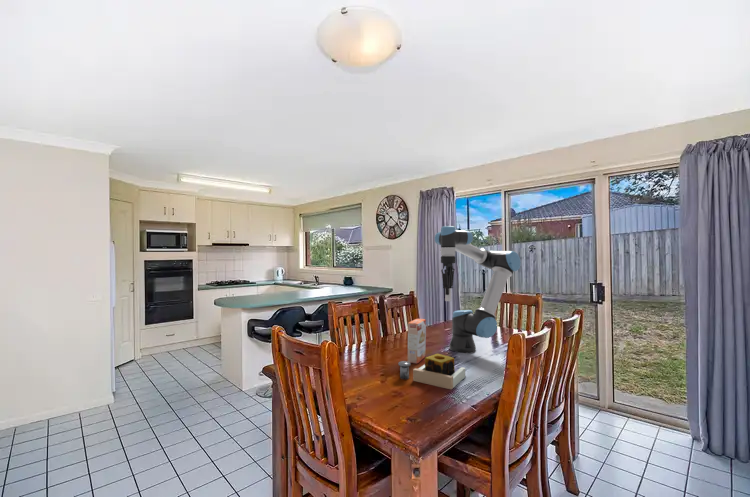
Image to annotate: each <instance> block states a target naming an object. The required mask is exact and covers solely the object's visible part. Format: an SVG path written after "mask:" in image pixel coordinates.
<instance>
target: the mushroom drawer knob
mask: <svg viewBox="0 0 750 497" xmlns="http://www.w3.org/2000/svg"><path fill="white" fill-rule="evenodd" d="M411 364H412V363H410V362H408V360H407V361H406V360H401V361H398V366H399V371H400V372H399V377H400V379H401V380H408V379H409V378H410V367H411Z"/></svg>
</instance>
